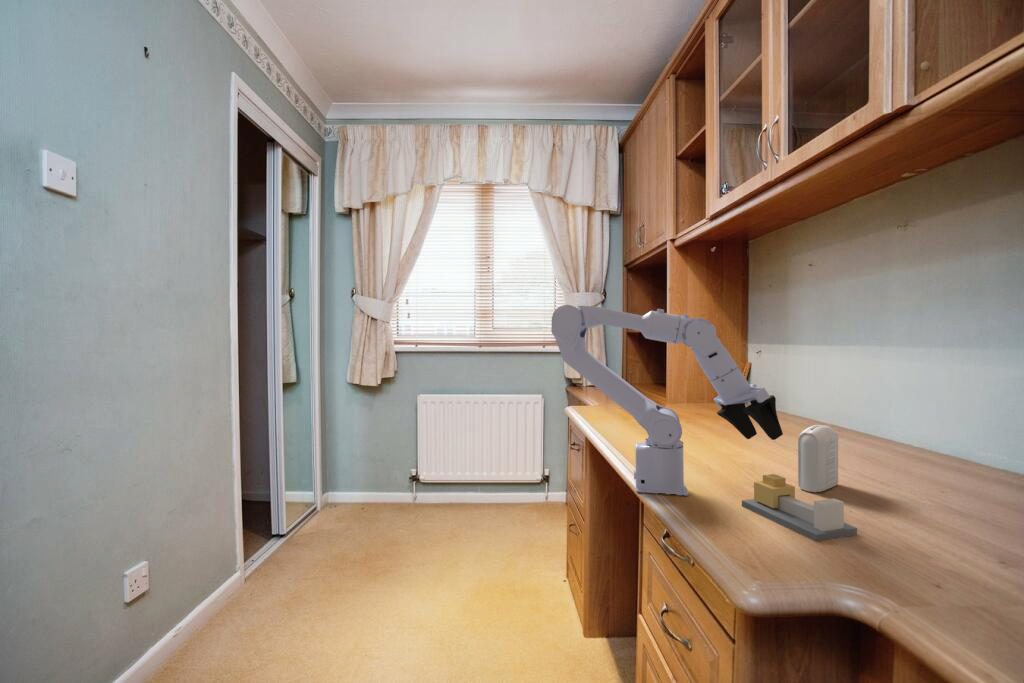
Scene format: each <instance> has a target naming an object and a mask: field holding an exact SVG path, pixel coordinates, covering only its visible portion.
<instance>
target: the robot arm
mask: <svg viewBox="0 0 1024 683" xmlns="http://www.w3.org/2000/svg"><path fill="white" fill-rule="evenodd" d="M602 325H603V326H610V327H616V328H623V329H630V330H635V331H640V333H641V334H642V336H643V338H645V339H648V340H651V341H658V342H664V343H668V344H673V345H674V344H675V345H678V344H680V343H683V344H684V345H685V346H686V347H688V348H690V350H691V352H692V353H693V355H694V356H695V358H696V362H697V363H698V365H699V367H700V368H701V371H702V372H703V373H704V374H705V376H706V378H707V379H708V381H709V382H710V384H711V386H712V387H713V389H714V391H715V392H716V393H717V396H716V397H714V398H713V402H714V403H715V405H716V406H717V408H721V409H720V410H718V411H717V412H716V414H717V415H718V417H721V418H722V419H724V420H726V421H727V422H728V423H730V424H731V426H733V427H734V428H735V429H736V430H737V431H738V432H739V433H740V435H742V436H743V437H744V438H745V440H750V439H751V438H753V437H755V436H756V435H757V434H758V433H757V430H756V428H755V425H754V423H753V422H752V420H751V419H753V421H755V422H756V423H757V425H758V426H759V427H760V428H761V429H762V431H763V432H764V434H766V436H767V437H768V438H770V440H772V441H776V439H778V438H780V437H782V436H783V435H784V433H783V429H782V426H781V424H780V421H779V418H778V413H777V407H776V404H777V403H776V401H777V399H776V397H775V395H770V394H769V392H768V391H767V390H766V388H765V387H758V385H757V384H756V383H751V384H750V383H749V381H748V380H747V379H746V377H745V375H744V374H743V372H742V371H741V369H740V367H739V366H738V364H737V363H736V362H735V360H734V358H733V357H732V355H731V354H730V352H729V351H728V349H727V347H726V346H725V345H723V344H722V341H721V339H720V338H719V337H718V336H717V330H716V327H715V325H714V324H712V323H711V322H710V321H709V320H707V319H705V318H700V317H698V318H697V317H695V318H690V314H688V313H683V315H679V314H673V313H669V312H665V309H662V308H657V309H656V311H655V310H650V311H648V312H647V313H645V314H644V315H640V314H635V313H630V312H626V311H621V310H615V309H611V308H610V309H609V308H607V307H601V306H593V305H577V307H576V306H574V305H571V304H562V305H560V306H559V307H557V308H556V309H555V310H554V312H553V313H552V316H551V334H552V335H553V338H554V339H555V341H556V344H557V347H558V350H559V353H560V355H561V358H562V360H563V362H564V363H565V364H566V365H567V366H569V367H570V368H572V370H574V371H576V372H577V373H578V374H579V375H580V376H582V378H584V379H585V380H587V381H588V382H589V383H590V384H592V385H593V386H594V387H595V388H596V389H598V390H600V392H602V393H603V394H604V395H605V396H606V397H608V398H609V399H610V400H612V401H613V402H614V403H615V404H617V406H619V407H620V408H622V409H623V410H624V411H626V412H627V413H628V414H629V415H631V416H632V418H633V419H634V420H635V421H636V423H637V424H638V425H639V426H641V428H642V429H644V431H646V434H647V437H646V438H645V439H644V440H645V441H644V442H635V446H634V447H635V448H634V450H635V451H634V453H635V458H634V459H635V462H634V463H635V466H634V469H635V470H633V479H634V480H635V487H636V488H635V490H636V492H637V493H645V494H646V493H647V494H658V493H668V494H667V495H670V494H677V495H676V496H682V495H684V496H685V497H688V496H689V492H688V489H687V486H686V484H685V482H684V480H685V478H684V475H685V474H684V473H685V472H684V468H685V467H684V466H685V465H684V442H683V441H682V440H681V438H682V436H683V427H682V424H681V423H680V422H681V421H680V417H679V416H678V414H677V412H676V411H674V410H673V409H672V408H669V407H665V406H662V405H659V404H658V403H657V402H655V401H654V400H652V399H650V398H649V397H647V396H645V395H644V394H643V393H642V392H641V391H639V390H638V389H636V388H635V387H634V386H633V385H631V384H630V383H629V382H627V381H626V380H625V379H624V378H622V377H621V376H620V375H619V374H617V373H616V372H615V371H613V370H612V369H611V368H609V367H608V366H607V365H605V364H604V363H603V362H602V361H600V360H599V359H598V358H597V357H595V356H594V355H593V354H591V353H590V352H589V351H588V350H587V347H586V346H587V345H586V334H587V329H594V328H596V327H599V326H602ZM747 403H750V404H749V405H747V406H746V404H747ZM658 495H659V494H658ZM684 496H683V497H684Z"/></svg>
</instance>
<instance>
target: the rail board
mask: <svg viewBox="0 0 1024 683" xmlns="http://www.w3.org/2000/svg"><path fill="white" fill-rule="evenodd" d="M741 506H742V507H743V508H745V509H748V510H750V511H752V512H754V513H756V514H757V515H760V516H762V517H764V518H766V519H768V520H771V521H773V522H775V523H776V524H779V525H781V526H783V527H785V528H787V529H788V530H789V529H790V530H791V531H794V532H796V533H798V534H799V535H802V536H804V537H806V538H809V539H811V540H813V541H814V542H821V541H827V540H831V539H838V538H843V537H849V536H857V535H858V527H856V526H853V525H851V524H849V523H846V522H845V521H844V520H845V519H844V518H845V514H844V513H845V511H844V510H845V509H844V501H842V500H839V499H837V498H827V499H820V500H813V505H812V504H810V503H808V502H805V501H803V500H802V501H801V500H800V499H797V498H796V497H795V498H792V497H790V496H787V495H780V496H778V508H772V507H769V506H767V505H765V504H763V503H760V502H758V501H756V500H754V498H751V499H742V500H741Z"/></svg>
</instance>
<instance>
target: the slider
mask: <svg viewBox="0 0 1024 683" xmlns="http://www.w3.org/2000/svg"><path fill="white" fill-rule="evenodd" d="M786 479H787V478H786V477H783V476H780V475H777V474H775V473H771V474H763V475H762V480H760V481H757V480H756V481H754V482H753V499H754V500H756V501H758V502H760V503H763V504H765V505H767V506H769V507H772V508H778V496H780V495H787V496H790V497H792V498H795V499H796V487H795V486H794V485H792V484H789V483H786Z"/></svg>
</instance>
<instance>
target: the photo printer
mask: <svg viewBox="0 0 1024 683" xmlns="http://www.w3.org/2000/svg"><path fill="white" fill-rule="evenodd" d="M797 440H798V441H797V475H798V476H797V480H798V481H797V483H798V484H797V485H798V488H800V489H801V490H802V491H806V492H810V493H821V492H824V491H827V490H829V489H831V488H833V487H835V486H837V485H838V483H839V436H838V433H837V431H836V430H835V429H834V428H832V427H831V426H829V425H825V424H823V425H822V424H814V425H811V426H809V427H807V428H806V429H804V430H802V432H800V434H799V436H798V439H797Z"/></svg>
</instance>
